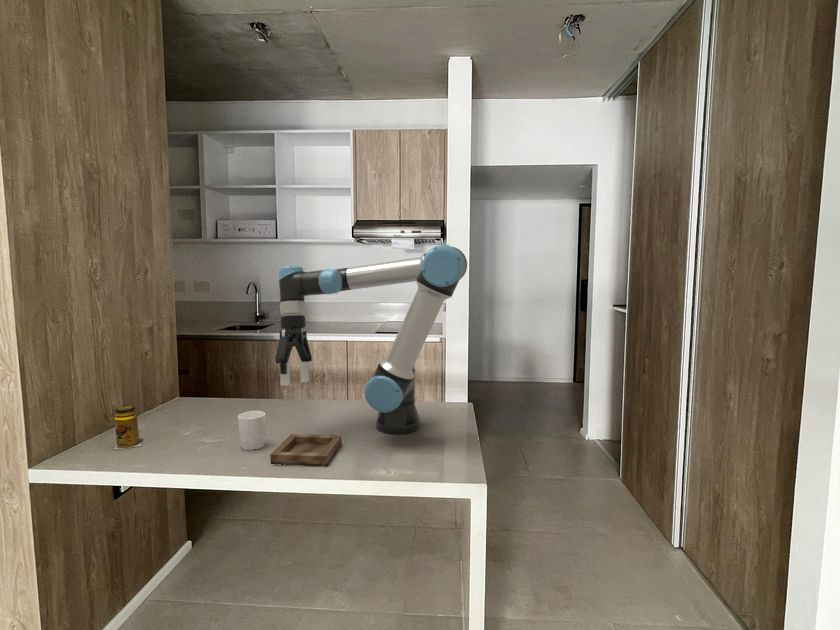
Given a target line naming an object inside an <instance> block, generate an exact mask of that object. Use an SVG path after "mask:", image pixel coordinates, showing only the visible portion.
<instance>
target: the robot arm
mask: <svg viewBox="0 0 840 630" xmlns="http://www.w3.org/2000/svg"><path fill="white" fill-rule="evenodd" d="M467 269H468V260H467V258H466V255H465V254H464V253H463V251H461V250H460V249H459V248H457V247H455V246H452V245H449V244H439V245H435V246H433V247H432V248H430V249H429V250H428V251H427V252H425V253H423V254H422V255H421V256H419V257H413V258H407V259H406V258H405V259H399V260H392V261H385V262H378V263H371V264H363V265H357V266H352V267H351V266H349V267H343V268H337V269H336V268H335V269H333V268H332V269H331V268H327V269H319V270H313V271H312V270H311V271H304V269H303V267H302V266H299V265H287V266H286V265H285V266H282V267H280V269H279V272H278V286H279V309H280V316H281V317H280V328H281V329H283V330H280V331H279V339H278V343H277V349H276V353H275V354H276V355H275V359H274V361H275V363H276V364H279V378H280V382H279V383H280V386H281V387H282V386H290V385H291V375H290V374H291V372H290V362H288V361H289V359H290V355H291V353H292V351H293V348H294V347H295V349H296V352H297V354H298V357H299V358H300V361H299V372H300V374H299V375H300V383H309V382H310V365H309V364H310V363H309V362H312V360H313V359H312V358H313V357H312V352H311V349H310V345H309V344H310V343H309V341H308V336H307V334H308V333H307V331H306V330H305V331H304V330H303V331H302V329H303V328H306V326H307V325H306V324H307V323H306V316H305V314H306V305H305V304H306V303H305V297H306V296H318V295H320V296H321V295H331V294H332V295H333V294H337V293H339V292H345V291H352V290H353V291H354V290H359V289H367V288H368V289H369V288H375V287H383V286H390V285H398V284H399V285H400V284H404V283H412V282H413V283H414V282H416V285H417V291H416V293H415V295H414V297H413V299H412V301H411V303H410V305H409V308H408V310H407V313H406V315H405V317H404V319H403V321H402V323H401V325H400V328H399V330H398V332H397V334H396V336H395V339H394V340H393V343H392V345H391V348H390V349H389V352H388V354H387V356H386V358H383V359H380V360H379V362H378V364H377V366H376V369H375V371H374V372H373V375H372V377H371V378H370V379H369V380H368V381H367V382H366V384H365V387H364V398H365V400H366V403H367V404H368V405H369V406H370V408H372V409H374V410H375V411H377V415H376V419H375V428H376V430H377V431H378V432H381V433H384V434H390V435H392V434H393V435H399V434H402V435H403V434H409V433H413V432H416V431H418V430H419V429H421V428H420V427H421V419H420V415H419V413H418V408H417V406H416V401H415V400H416V399H415V397H416V396H415V395H416V392H415V391H416V384H415V381H416V379H415V375H416V368H415V364H416V361H417V359H418V358H419V355H420V353H421V351H422V349H423V347H424V345H425V343H426V341H427V338H428V336H429V333H430V332H431V330H432V327H433V326H434V323H435V321H436V318H437V317H438V314H439V312H440V310H441V308H442V306H443V304H444V302H445V301H446V300H448V299H451V298H452V297H453V294H454V292H455V290H456V288H457V286H458V285H459V282H460V280H461V279H462V278H463V277H464V276H465V274H466V273H467Z"/></svg>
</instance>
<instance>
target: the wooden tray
mask: <svg viewBox="0 0 840 630" xmlns="http://www.w3.org/2000/svg"><path fill="white" fill-rule="evenodd" d="M342 442H343V441H342V435H333V434H332V435H330V434H329V435H328V434H325V435H324V434H294V433H292V434H290V435H288V436H287V438H286V439H284V440H283V441H282V443H281V444H280V445H278V446H277V448H275V449H274V450H273V451H272V452H271V453H270V455H269V459H270V465H271V464H281V465H280V466H290V465H301V466H300V467H320V466H325V467H324V468H326V467H328V466H329V464H330V462H331V461H332V460H333V459H334V457H335V455H336V454H337V453H338V451H339V449H340V448H341V447H342ZM284 464H285V465H284ZM303 465H304V466H303Z"/></svg>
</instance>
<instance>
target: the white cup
mask: <svg viewBox="0 0 840 630" xmlns="http://www.w3.org/2000/svg"><path fill="white" fill-rule="evenodd" d="M237 420H238V421H237V422H238V429H239V439H240V442H241V449H243V450H244V451H255V450H254V449H256V450H260V449H261V448H263V447H264V446H265V441H266V440H265V437H266V412H264V411H262V410H250V411H246V412H242V413H240V414H238V416H237Z"/></svg>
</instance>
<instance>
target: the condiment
mask: <svg viewBox="0 0 840 630" xmlns="http://www.w3.org/2000/svg"><path fill="white" fill-rule="evenodd" d="M114 410H115V411H114V412H115V417H114V428H115V436H116V439H115V440H116V444H115V446H114V448H113V450H124V449H130V448H135V447H141V446H142V443H143V441H144V438H145V437H144V436H141V437H140V434H139V423H138V414H137V413H136V407H135V405H123V406H119V407H116V408H115V409H114Z"/></svg>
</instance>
